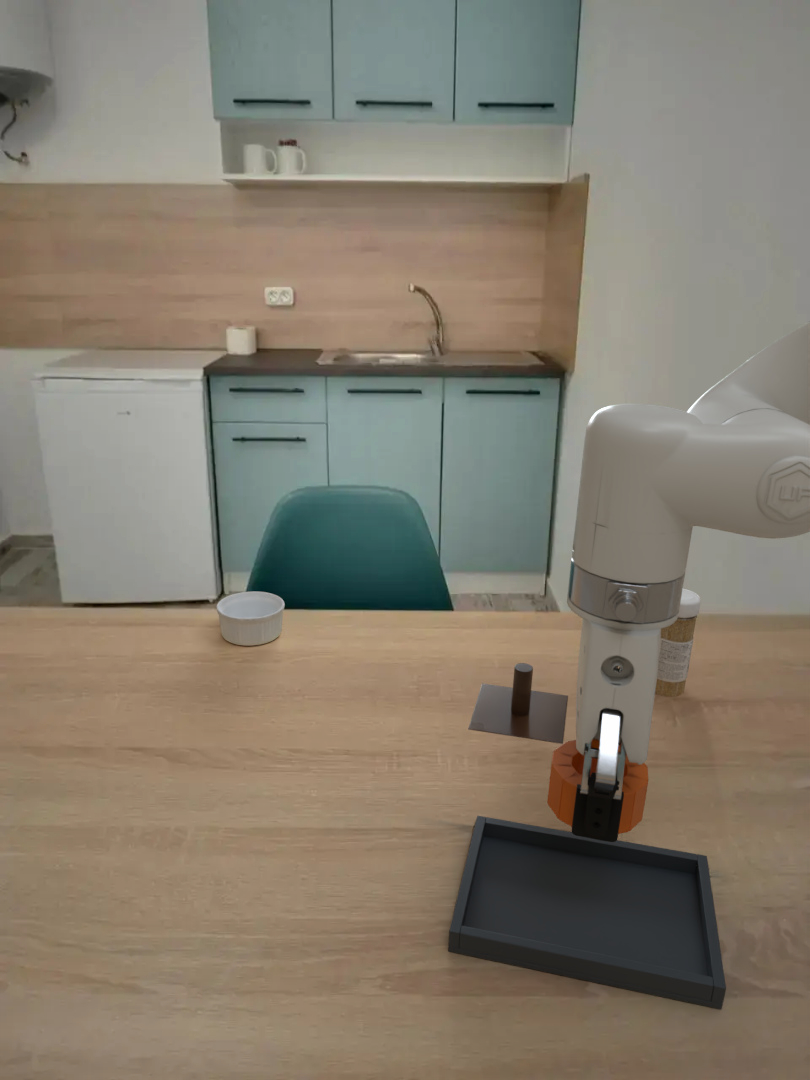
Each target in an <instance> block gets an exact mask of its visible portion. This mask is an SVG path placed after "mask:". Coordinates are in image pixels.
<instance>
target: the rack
mask: <svg viewBox="0 0 810 1080" xmlns="http://www.w3.org/2000/svg"><path fill="white" fill-rule="evenodd" d="M533 673H534V666H532V665H531V664H529V663H525V662H520V663H516V664H514V668H513V679H512V680H513V681H512V687H511V686H504V685H496V684H489V683H483V682H482V683H481V686H480V688H479V693H478V695H477V698H476V701H475V706H474V708H473V711H472V714H471V717H470V722H469V725H468V730H469V731H470V730H471V731H476V732H482V733H488V734H496V735H502V736H508V737H516V738H521V739H528V740H529V739H530V740H535V741H541V742H548V743H554V744H561V745H563V744H564V739H565V738H564V737H565V731H566V730H565V729H566V721H567V720H566V718H567V711H568V701H569V695H567V694H560V693H552V692H546V691H540V690H539V691H538V690H532V687H533V686H532V685H533V676H534V675H533Z"/></svg>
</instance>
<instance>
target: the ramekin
mask: <svg viewBox="0 0 810 1080" xmlns="http://www.w3.org/2000/svg"><path fill="white" fill-rule="evenodd" d="M285 606H286V604H285V601H284V600H283V598H282V597H281V596H279V595H277V594H274V593H270V592H266V591H253V590H252V591H242V592H237V593H232V594H230V595H227V596H225V597H223V598H222V599H220V600H219V601H218V602H217V604H216V612H217V614H218V621H219V627H220V634H221V636H222V638H223V639H224V640H225V641H227V642H228V643H230V644H233V645H238V646H245V647H246V646H247V647H248V646H251V647H252V646H261V645H264V644H265V645H266V644H268V643H270V642H272V641H274V640H277V638H278V637H279V636H280V635H281V634H282V631H283V617H284V611H285Z"/></svg>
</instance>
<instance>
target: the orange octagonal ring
mask: <svg viewBox="0 0 810 1080" xmlns="http://www.w3.org/2000/svg"><path fill="white" fill-rule="evenodd" d="M591 747H592V748H598V747H599V740H595V739H593V740H592V742H591ZM618 752H620V745H618ZM583 762H584V756H583V755H582V754H581V753H580V752H579V751H578V750H577V749H576V739H574V740H573V739H572V740H568V741H565V742H563V744H561V745H559V746H558V747H556V748H555V749H554V750H553V751H552V757H551V766H550V772H549V773H550V774H549V784H548V792H547V805H548V806H549V808H550V809H551V811H552V812H553V814H554V815H555V817H556V818H557V819H558V820H559V821H560V822H562V823H564V824H566V825H568V826H569V827H571V828H572V822H573V814H574V806H575V798H576V790H577V784H580V785H581V780H582V771H583ZM596 767H597V759H596V758H592V763H591V772H590V776H591V774H592V772H594V773H596ZM648 786H649V768H648V765H647V764H646V762H644V763H643V764H641V765H638V764H637V763H632V762H629V760H628V757H627V754H626V760H625V767H624V776H623V786H622V792H624V798H623V805H622V812H621V818H620V825H619V832H618V835H620V834H624V833H629V832H631V831H632V830H633V829H634V828H635V827H636V826H637V825H638V824H640V823H641V822H642V820H643V817H644V810H645V805H646V799H647V793H648V792H647V791H648Z"/></svg>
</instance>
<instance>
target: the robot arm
mask: <svg viewBox="0 0 810 1080" xmlns="http://www.w3.org/2000/svg"><path fill="white" fill-rule="evenodd" d="M582 451H583V452H582V459H581V460H582V461H581V467H580V468H581V469H580V477H579V478H580V479H579V488H578V498H577V505H576V506H577V507H576V514H575V515H576V516H575V525H574V532H573V541H572V551H571V559H570V568H569V576H568V577H569V578H568V587H567V596H566V604H567V607H568V608H569V609H570V611H572V613H574V614H575V615H577V616H578V617H580V618H581V619H582V620H581V629H580V637H579V649H578V658H577V661H578V662H577V671H576V672H577V673H576V692H575V740H576V749H577V750H578V751H579V752H580V753H581V754H582V755H583V756H584V762H583V771H582V780H581V785H580V784H577V790H576V798H575V806H574V814H573V822H572V827H571V832H572V833H573V834H574V835H576V836H581V837H586V838H591V839H597V840H602V841H608V842H615V841H616V840H618V839H619V834H618V832H619V825H620V818H621V812H622V805H623V798H624V792H622V786H623V776H624V767H625V760H626V754H627V757H628V760H629V762H632V763H637V764H638V765H641V764H643V763H646V762H647V760H648V755H649V745H650V736H651V728H652V720H653V713H654V704H655V697H656V693H655V691H656V683H657V674H658V666H659V656H660V643H661V629H662V628H665V627H668V626H670V625H672V624H673V623H674V622H675V621H676V620H677V618H678V615H679V608H680V602H681V596H682V589H684V583H685V576H686V572H687V571H686V570H687V565H688V558H689V552H690V546H691V541H692V533H693V527H699V528H706V529H711V530H718V531H722V532H727V533H732V534H736V535H742V536H747V537H754V538H760V539H774V540H775V539H787V538H794V537H797V536H802V535H806V534H807V533H810V321H807V322H806V323H804V324H802V325H800V326H798V327H796V328H795V329H793V330H791V331H790V332H788V333H786V334H784V335H783V336H780V337H778V338H777V339H776V340H773V342H771V343H770V344H768V345H766V346H765V347H764V348H763V349H760V351H758V352H757V353H755V354H754V355H753V356H751V357H749V358H748V359H747V360H745V361H744V362H743V363H741V364H740V365H739V366H738V367H737V368H735V369H734V370H732V371H731V372H730V373H728V374H727V375H726V376H725V377H723V378H722V379H720V380H719V381H718V382H717V383H715V384H714V385H713V386H711V387H710V388H709V389H708V390H706V391H705V392H704V393H703V394H702V395H701V396H700V397H699V398H698V399H696V400H695V402H693V403H692V405H690V407H689V408H688V409H687V411H686V410H684V409H680V408H676V407H672V406H665V405H658V404H648V403H617V404H612V405H608V406H604V407H602V408H600V409H598V410H596V411H595V412H594V413H593V415H592V416H591V417H589V420H588V423H587V424H586V429H585V436H584V441H583V450H582ZM593 739H595V740H599V747H598V748H592V747H591V742H592V740H593ZM618 745H620V752H618ZM592 758H596V759H597V767H596V773H594V772H592V774H591V776H590V772H591V763H592Z"/></svg>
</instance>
